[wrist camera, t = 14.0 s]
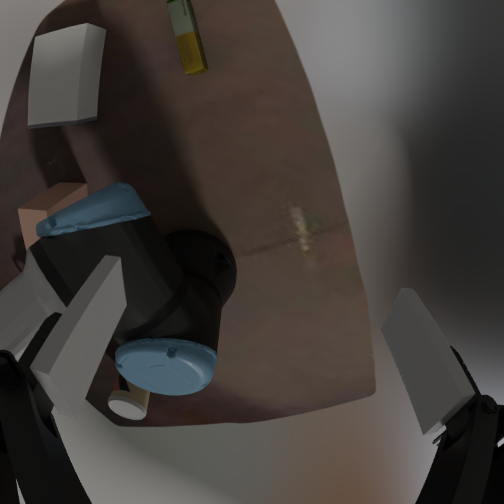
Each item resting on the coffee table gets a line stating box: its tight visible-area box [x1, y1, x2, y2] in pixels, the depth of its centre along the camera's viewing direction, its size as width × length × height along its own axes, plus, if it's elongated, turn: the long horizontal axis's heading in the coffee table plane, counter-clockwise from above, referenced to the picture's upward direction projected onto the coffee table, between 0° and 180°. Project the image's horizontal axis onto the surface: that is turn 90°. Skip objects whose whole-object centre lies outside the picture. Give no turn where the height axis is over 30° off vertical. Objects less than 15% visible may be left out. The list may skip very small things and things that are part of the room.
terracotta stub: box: [18, 182, 88, 251], centre depth 38 cm, size 7×6×12 cm
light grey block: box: [27, 23, 106, 129], centre depth 30 cm, size 15×10×6 cm
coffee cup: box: [108, 374, 150, 420], centre depth 59 cm, size 9×9×12 cm
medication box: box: [167, 0, 208, 76], centre depth 30 cm, size 12×3×4 cm, turn 13°
